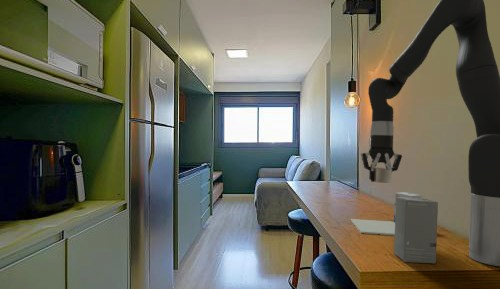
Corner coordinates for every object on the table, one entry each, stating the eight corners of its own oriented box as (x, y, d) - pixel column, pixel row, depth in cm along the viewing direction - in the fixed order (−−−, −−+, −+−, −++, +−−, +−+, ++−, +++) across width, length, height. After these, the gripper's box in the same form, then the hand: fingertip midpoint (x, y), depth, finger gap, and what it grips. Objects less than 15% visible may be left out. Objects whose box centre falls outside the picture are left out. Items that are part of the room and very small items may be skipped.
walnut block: (382, 167, 114) (391, 169, 103) (381, 179, 114) (391, 183, 103) (369, 167, 114) (377, 169, 104) (369, 178, 114) (377, 182, 104)
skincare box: (403, 262, 76) (405, 200, 76) (392, 252, 83) (393, 195, 83) (438, 264, 75) (440, 201, 75) (423, 254, 82) (425, 196, 83)
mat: (393, 223, 117) (393, 221, 117) (411, 236, 99) (411, 235, 99) (350, 220, 119) (350, 218, 119) (360, 233, 101) (360, 231, 101)
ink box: (393, 221, 119) (394, 192, 119) (403, 221, 121) (404, 191, 121) (410, 227, 111) (411, 195, 111) (421, 226, 113) (422, 195, 113)
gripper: (363, 133, 105) (361, 182, 105) (406, 134, 103) (405, 184, 103) (358, 134, 113) (357, 179, 113) (399, 135, 111) (397, 181, 111)
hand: (380, 181), depth 108 cm, fingers closed on walnut block, 4 cm apart
